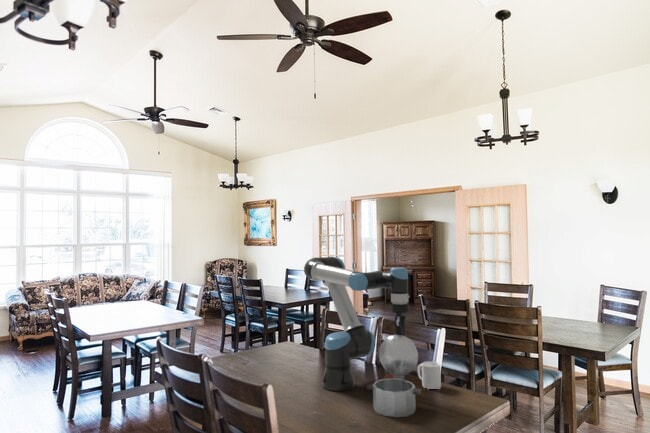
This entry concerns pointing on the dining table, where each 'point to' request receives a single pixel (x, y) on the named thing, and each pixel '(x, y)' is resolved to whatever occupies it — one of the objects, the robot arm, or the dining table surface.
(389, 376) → the burger
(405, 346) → the lid
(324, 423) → the dining table surface
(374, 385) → the pot
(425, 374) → the cup
